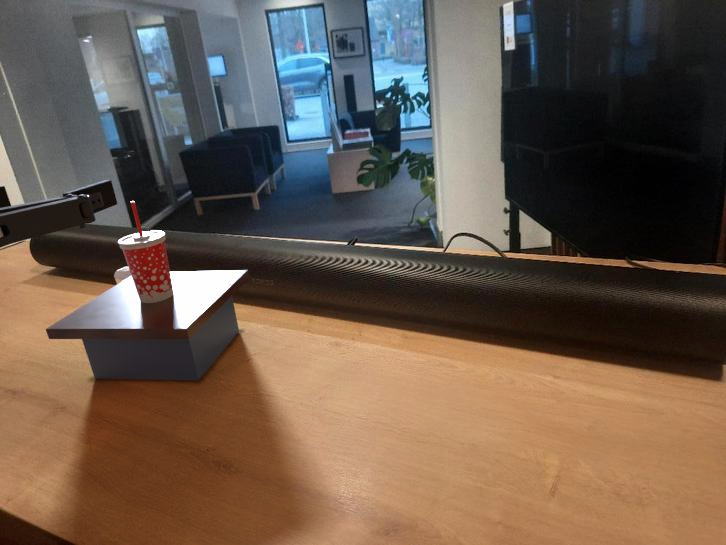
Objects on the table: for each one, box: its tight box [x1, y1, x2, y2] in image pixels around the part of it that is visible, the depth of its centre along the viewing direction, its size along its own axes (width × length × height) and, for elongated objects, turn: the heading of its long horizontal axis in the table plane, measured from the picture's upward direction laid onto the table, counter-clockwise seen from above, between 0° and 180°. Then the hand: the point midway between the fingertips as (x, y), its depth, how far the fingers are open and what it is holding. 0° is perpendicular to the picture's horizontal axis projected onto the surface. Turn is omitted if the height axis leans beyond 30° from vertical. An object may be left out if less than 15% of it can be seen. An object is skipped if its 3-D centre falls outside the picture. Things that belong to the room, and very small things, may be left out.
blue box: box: [81, 295, 240, 381], centre depth 73 cm, size 16×14×8 cm
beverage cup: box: [117, 200, 174, 303], centre depth 69 cm, size 6×6×14 cm
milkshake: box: [113, 266, 131, 285], centre depth 88 cm, size 5×5×10 cm
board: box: [45, 269, 250, 340], centre depth 72 cm, size 20×20×2 cm
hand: (57, 195), depth 56 cm, fingers open, 13 cm apart
